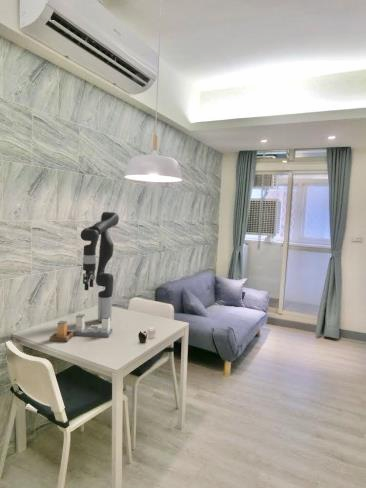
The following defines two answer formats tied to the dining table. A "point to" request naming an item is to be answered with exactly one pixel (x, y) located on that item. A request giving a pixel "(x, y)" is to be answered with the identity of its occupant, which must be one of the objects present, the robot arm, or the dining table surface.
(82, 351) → the dining table surface
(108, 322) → the fuse block
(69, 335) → the tray
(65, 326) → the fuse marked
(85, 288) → the robot arm
